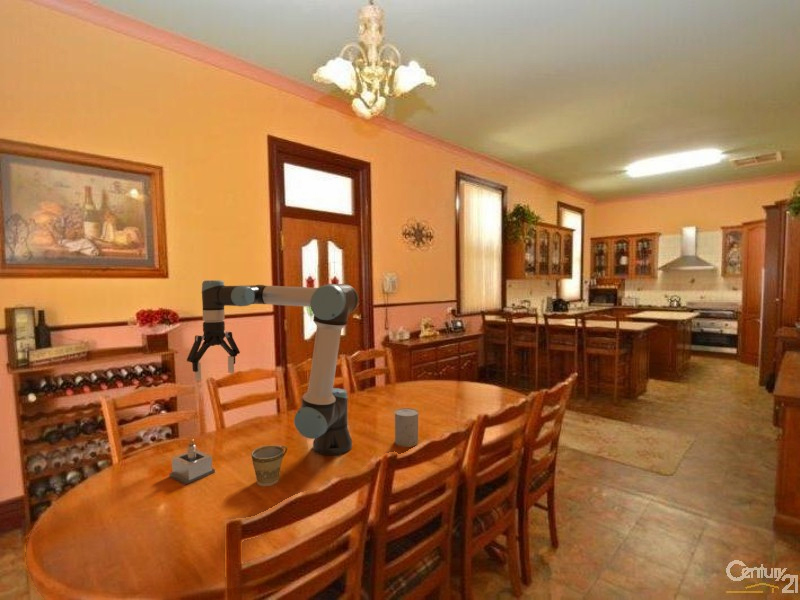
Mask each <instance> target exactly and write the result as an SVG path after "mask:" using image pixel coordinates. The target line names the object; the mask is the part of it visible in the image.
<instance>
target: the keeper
mask: <svg viewBox="0 0 800 600" xmlns="http://www.w3.org/2000/svg"><path fill="white" fill-rule="evenodd" d="M186 448H187V452H188V462H193V461H195V460H196V450H197V445H196V443H195V438H190V439H188V445H187V447H186ZM215 473H216V469H214V468H213V467H212V471H210V472H207V473H205V474H203V475H201V476H198V477H196V478H194V479H191V480H187V479H185V478H183V477H181V476H179V475H177V474H175V473H173V472H170V473H169V475H168V476H169V478H172V479H174V480H175V481H177V482H179V483H182V484H183V485H185V486H187V485H189V484H191V483H193V482H195V481H199V480H201V479H202V478H203V479H204V478H205V477H208V476H210V475H212V474H215Z"/></svg>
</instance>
